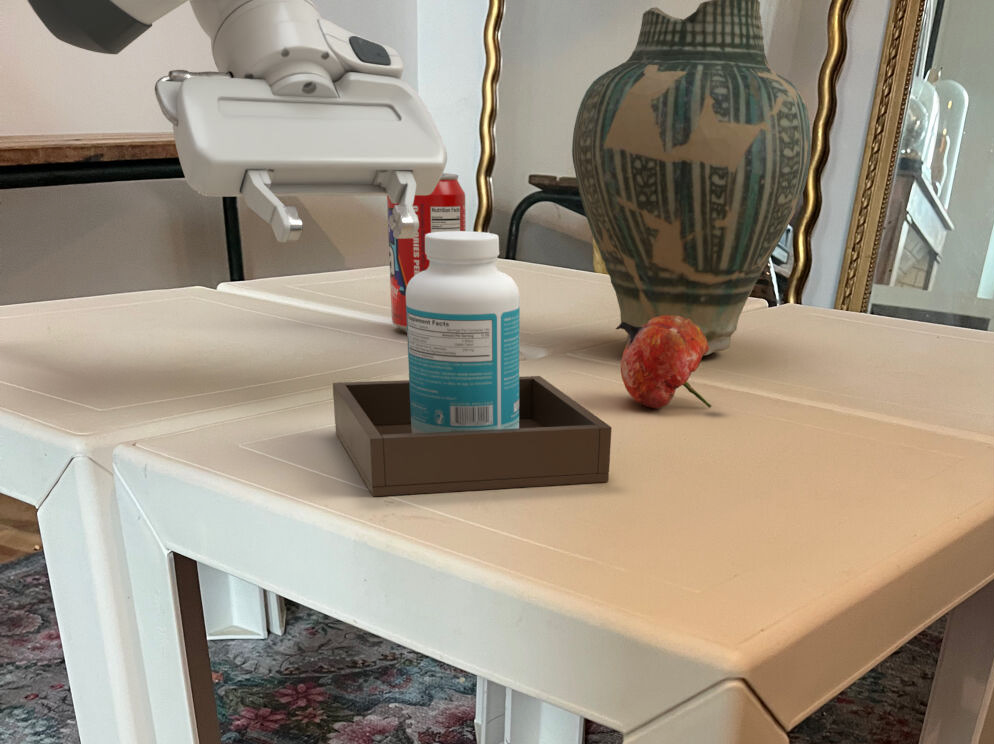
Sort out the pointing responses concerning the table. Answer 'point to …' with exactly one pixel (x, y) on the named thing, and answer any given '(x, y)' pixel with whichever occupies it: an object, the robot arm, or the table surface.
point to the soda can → (422, 238)
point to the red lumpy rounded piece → (661, 358)
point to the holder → (469, 442)
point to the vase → (691, 166)
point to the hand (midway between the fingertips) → (351, 234)
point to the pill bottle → (463, 337)
